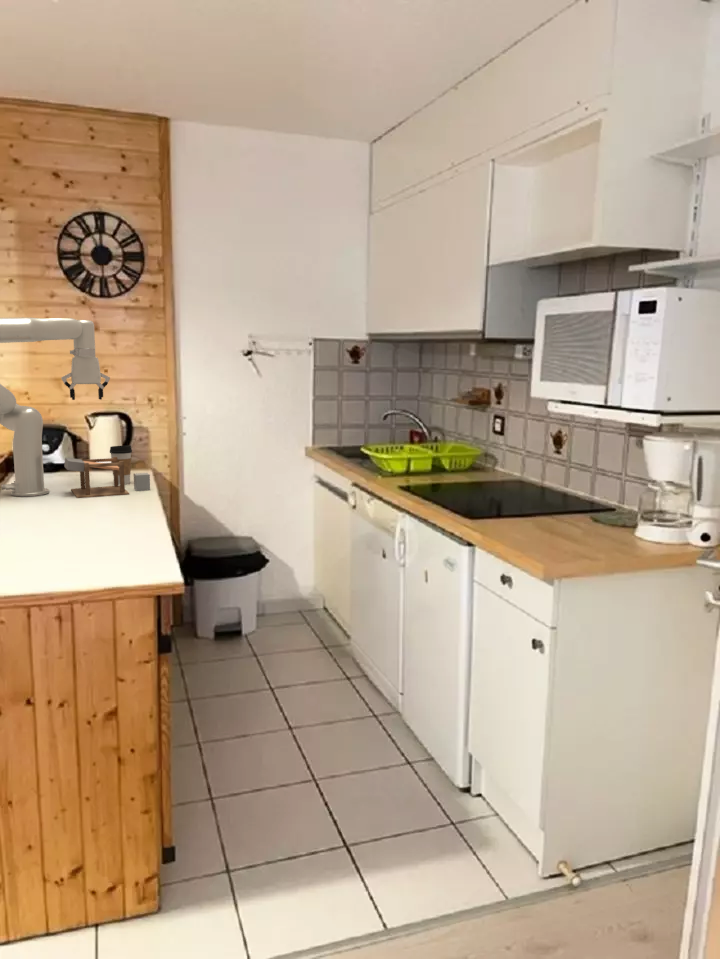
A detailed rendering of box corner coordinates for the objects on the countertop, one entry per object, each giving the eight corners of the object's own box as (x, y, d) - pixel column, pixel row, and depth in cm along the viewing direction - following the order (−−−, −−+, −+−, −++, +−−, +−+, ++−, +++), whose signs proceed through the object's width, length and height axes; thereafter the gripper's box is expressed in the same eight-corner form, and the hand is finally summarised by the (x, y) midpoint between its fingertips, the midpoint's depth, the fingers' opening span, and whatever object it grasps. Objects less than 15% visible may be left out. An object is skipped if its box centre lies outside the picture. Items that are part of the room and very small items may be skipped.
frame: (76, 498, 264) (75, 464, 262) (71, 490, 279) (69, 458, 277) (129, 494, 272) (128, 461, 270) (120, 487, 287) (119, 456, 285)
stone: (149, 474, 280) (150, 490, 281) (147, 472, 285) (147, 488, 285) (136, 475, 278) (136, 491, 279) (133, 473, 282) (134, 489, 283)
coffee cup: (129, 485, 291) (127, 447, 289) (107, 485, 291) (106, 446, 289) (136, 481, 299) (134, 444, 297) (115, 481, 299) (113, 444, 297)
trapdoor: (67, 470, 264) (68, 461, 264) (64, 466, 273) (65, 457, 273) (119, 475, 273) (120, 467, 273) (114, 471, 282) (115, 463, 281)
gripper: (61, 353, 273) (63, 400, 275) (110, 354, 280) (112, 399, 283) (59, 353, 279) (61, 399, 282) (107, 354, 287) (109, 398, 290)
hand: (86, 399), depth 283 cm, fingers open, 9 cm apart
